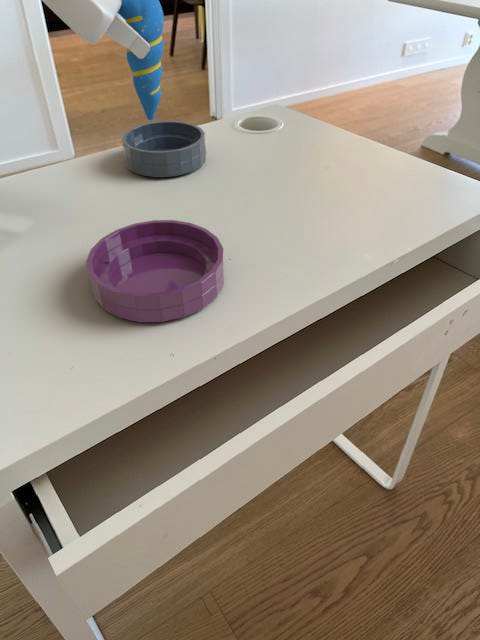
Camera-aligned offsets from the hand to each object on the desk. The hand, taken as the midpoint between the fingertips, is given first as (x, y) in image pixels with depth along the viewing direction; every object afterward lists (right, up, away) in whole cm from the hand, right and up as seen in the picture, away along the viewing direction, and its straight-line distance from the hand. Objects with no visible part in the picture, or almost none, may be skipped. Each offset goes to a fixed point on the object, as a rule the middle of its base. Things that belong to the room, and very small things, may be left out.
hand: (148, 45), depth 59 cm
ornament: (-1, -7, +5) cm, 9 cm away
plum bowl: (+1, -27, +1) cm, 27 cm away
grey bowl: (-2, -5, +27) cm, 27 cm away
